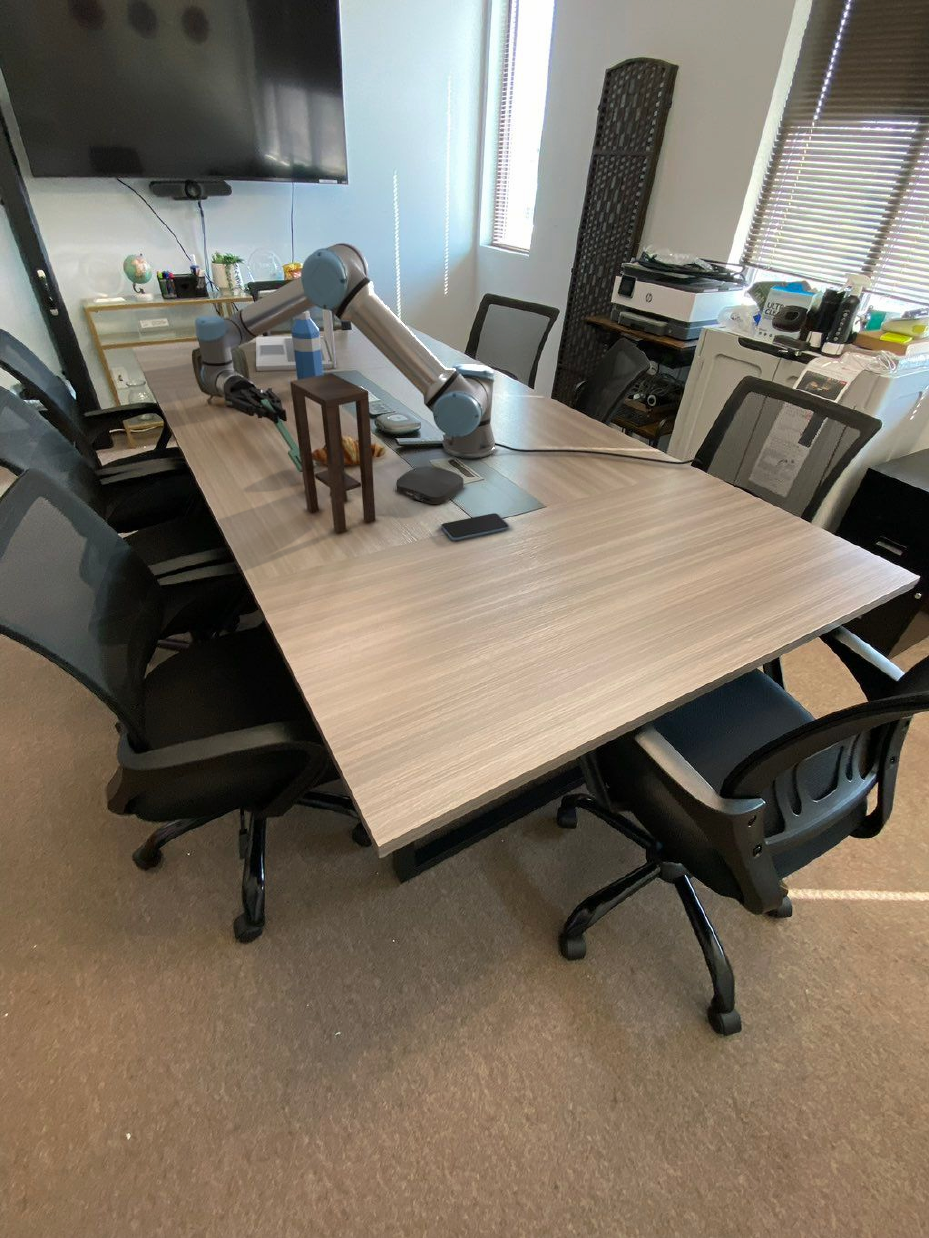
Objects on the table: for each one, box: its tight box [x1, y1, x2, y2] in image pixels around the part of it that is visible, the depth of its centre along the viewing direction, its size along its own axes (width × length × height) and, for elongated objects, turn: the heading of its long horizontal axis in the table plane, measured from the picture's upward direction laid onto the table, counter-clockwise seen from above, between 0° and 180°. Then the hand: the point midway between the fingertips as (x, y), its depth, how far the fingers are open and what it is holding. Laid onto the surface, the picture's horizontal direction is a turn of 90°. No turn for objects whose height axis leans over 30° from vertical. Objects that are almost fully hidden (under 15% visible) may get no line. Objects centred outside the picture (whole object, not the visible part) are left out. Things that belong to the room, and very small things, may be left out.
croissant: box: [312, 435, 387, 467], centre depth 164 cm, size 21×10×8 cm, turn 111°
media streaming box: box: [396, 465, 465, 505], centre depth 154 cm, size 15×15×3 cm
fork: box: [261, 399, 317, 474], centre depth 148 cm, size 22×4×1 cm
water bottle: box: [291, 310, 324, 380], centre depth 200 cm, size 9×9×25 cm
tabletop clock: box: [191, 346, 251, 405], centre depth 187 cm, size 14×9×25 cm, turn 76°
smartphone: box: [440, 512, 510, 541], centre depth 140 cm, size 7×1×15 cm
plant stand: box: [289, 372, 376, 535], centre depth 133 cm, size 14×10×30 cm
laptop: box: [255, 309, 337, 372], centre depth 231 cm, size 40×29×28 cm
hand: (280, 416), depth 146 cm, fingers closed on fork, 2 cm apart
